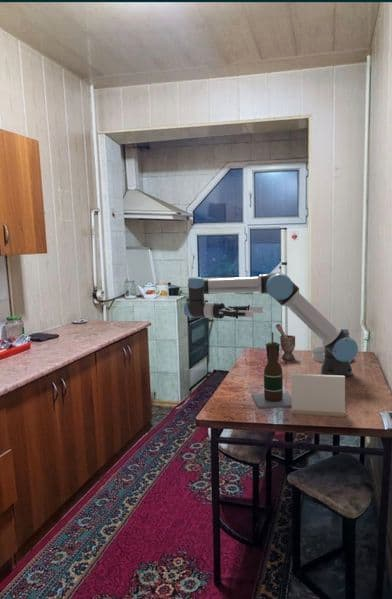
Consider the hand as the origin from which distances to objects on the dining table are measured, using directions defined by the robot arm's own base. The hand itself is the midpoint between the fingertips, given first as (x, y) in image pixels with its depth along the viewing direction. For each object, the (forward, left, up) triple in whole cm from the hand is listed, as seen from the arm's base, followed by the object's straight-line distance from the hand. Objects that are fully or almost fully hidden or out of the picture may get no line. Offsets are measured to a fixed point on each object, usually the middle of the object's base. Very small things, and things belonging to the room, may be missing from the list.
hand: (257, 311), depth 207 cm
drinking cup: (-13, -32, -36) cm, 50 cm away
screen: (-17, +33, -36) cm, 52 cm away
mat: (-3, +17, -36) cm, 40 cm away
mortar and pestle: (-25, -55, -36) cm, 70 cm away
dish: (-51, -50, -36) cm, 80 cm away
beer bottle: (-3, +17, -35) cm, 39 cm away
